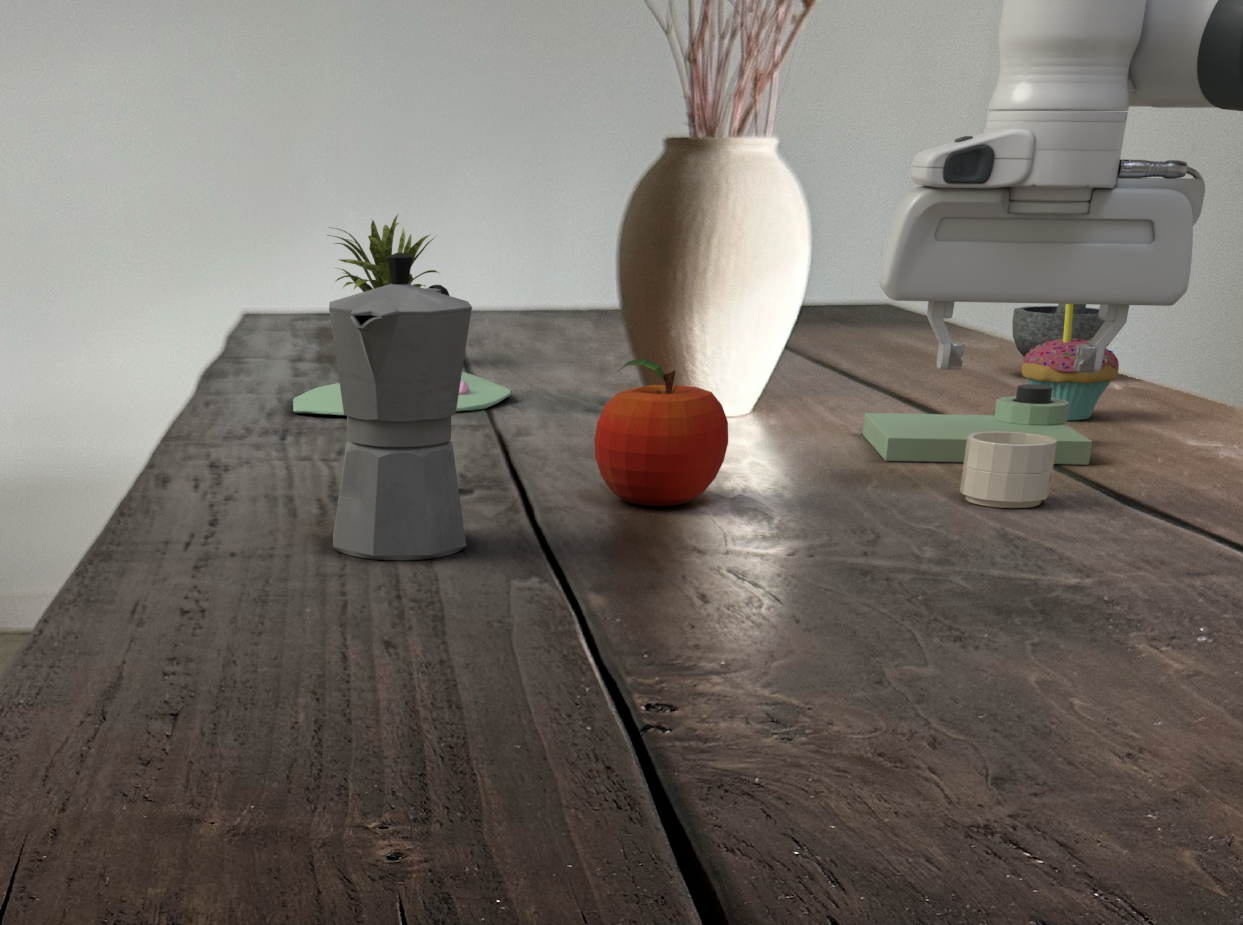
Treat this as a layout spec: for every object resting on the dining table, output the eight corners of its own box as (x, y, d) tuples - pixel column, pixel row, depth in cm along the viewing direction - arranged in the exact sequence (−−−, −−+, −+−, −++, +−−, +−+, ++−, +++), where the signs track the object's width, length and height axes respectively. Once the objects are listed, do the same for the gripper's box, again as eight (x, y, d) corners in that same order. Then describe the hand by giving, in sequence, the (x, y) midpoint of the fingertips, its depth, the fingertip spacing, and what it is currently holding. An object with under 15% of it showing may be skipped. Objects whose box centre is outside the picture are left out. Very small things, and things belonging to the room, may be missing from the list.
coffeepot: (432, 574, 104) (436, 262, 97) (292, 561, 107) (285, 258, 100) (507, 523, 117) (515, 245, 110) (380, 513, 121) (380, 242, 113)
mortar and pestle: (997, 370, 190) (1013, 256, 185) (1083, 370, 189) (1102, 256, 185) (1023, 384, 180) (1041, 263, 175) (1114, 385, 179) (1135, 264, 174)
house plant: (316, 357, 202) (313, 209, 196) (431, 355, 204) (432, 208, 197) (326, 372, 189) (324, 215, 183) (449, 370, 191) (451, 214, 184)
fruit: (711, 519, 118) (723, 370, 114) (577, 509, 122) (584, 364, 118) (734, 493, 127) (745, 354, 123) (607, 485, 130) (615, 348, 126)
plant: (441, 426, 155) (442, 323, 151) (244, 411, 163) (241, 313, 160) (539, 391, 176) (543, 299, 172) (360, 379, 184) (360, 291, 180)
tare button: (1045, 402, 147) (1048, 384, 146) (1053, 407, 144) (1056, 389, 144) (1011, 402, 147) (1014, 384, 146) (1019, 407, 145) (1021, 388, 144)
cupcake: (1081, 426, 154) (1103, 287, 150) (995, 416, 160) (1014, 281, 155) (1127, 416, 160) (1150, 281, 155) (1042, 406, 165) (1062, 276, 161)
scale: (1052, 437, 149) (1059, 396, 148) (1093, 465, 137) (1100, 420, 136) (861, 434, 151) (866, 393, 150) (885, 461, 139) (890, 417, 137)
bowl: (1035, 493, 127) (1045, 432, 125) (1055, 510, 121) (1065, 446, 119) (952, 492, 127) (960, 430, 125) (968, 508, 122) (977, 444, 120)
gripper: (1195, 159, 117) (1157, 368, 122) (889, 156, 119) (865, 361, 125) (1226, 161, 111) (1184, 380, 117) (904, 158, 113) (878, 372, 119)
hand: (1017, 370), depth 121 cm, fingers open, 8 cm apart
